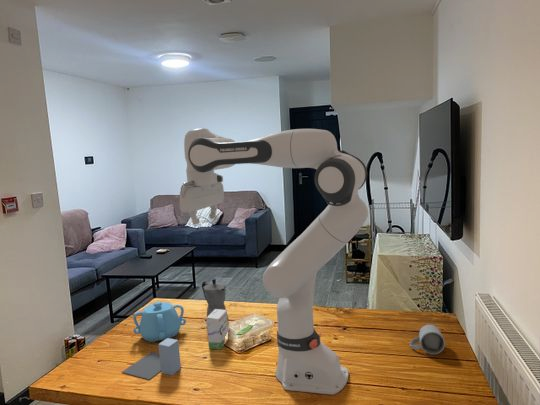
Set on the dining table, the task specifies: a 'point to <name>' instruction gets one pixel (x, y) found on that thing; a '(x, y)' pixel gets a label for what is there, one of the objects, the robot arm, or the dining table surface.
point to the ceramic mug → (429, 340)
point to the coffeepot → (214, 295)
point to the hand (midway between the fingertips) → (204, 221)
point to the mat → (145, 366)
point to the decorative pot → (159, 321)
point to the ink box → (217, 328)
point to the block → (169, 356)
